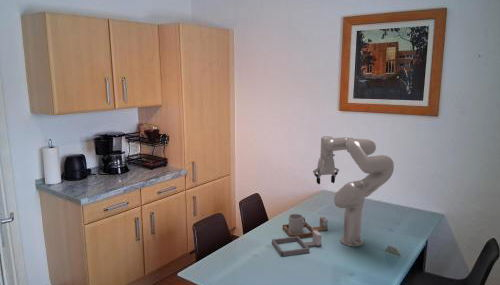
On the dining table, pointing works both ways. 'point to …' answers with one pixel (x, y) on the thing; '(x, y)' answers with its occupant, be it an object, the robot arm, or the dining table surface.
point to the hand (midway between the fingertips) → (325, 183)
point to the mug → (296, 223)
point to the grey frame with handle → (315, 242)
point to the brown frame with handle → (322, 227)
